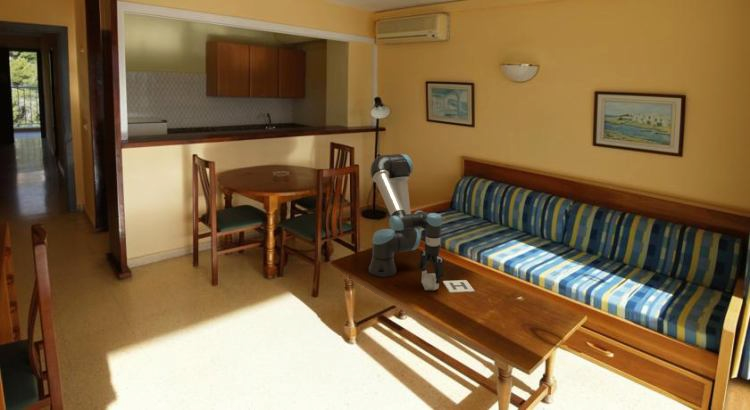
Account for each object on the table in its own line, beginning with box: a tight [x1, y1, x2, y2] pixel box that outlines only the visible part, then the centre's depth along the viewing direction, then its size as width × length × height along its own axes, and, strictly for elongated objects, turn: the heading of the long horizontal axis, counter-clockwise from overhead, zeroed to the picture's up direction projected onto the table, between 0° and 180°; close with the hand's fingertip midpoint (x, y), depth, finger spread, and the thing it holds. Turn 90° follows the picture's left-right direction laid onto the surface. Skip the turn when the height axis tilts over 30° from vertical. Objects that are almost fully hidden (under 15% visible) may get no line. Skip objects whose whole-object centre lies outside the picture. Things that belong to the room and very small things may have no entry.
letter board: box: [442, 279, 476, 294], centre depth 254 cm, size 13×13×1 cm
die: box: [420, 272, 436, 291], centre depth 250 cm, size 8×9×10 cm
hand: (429, 285), depth 251 cm, fingers closed on die, 8 cm apart
